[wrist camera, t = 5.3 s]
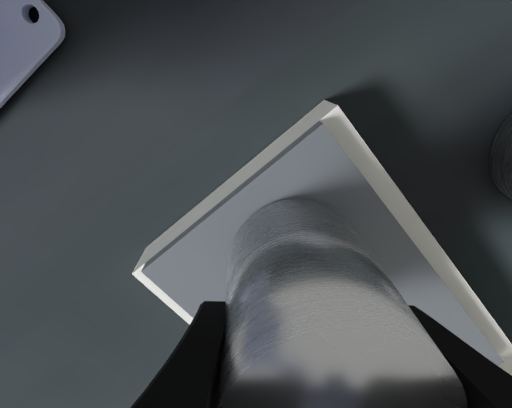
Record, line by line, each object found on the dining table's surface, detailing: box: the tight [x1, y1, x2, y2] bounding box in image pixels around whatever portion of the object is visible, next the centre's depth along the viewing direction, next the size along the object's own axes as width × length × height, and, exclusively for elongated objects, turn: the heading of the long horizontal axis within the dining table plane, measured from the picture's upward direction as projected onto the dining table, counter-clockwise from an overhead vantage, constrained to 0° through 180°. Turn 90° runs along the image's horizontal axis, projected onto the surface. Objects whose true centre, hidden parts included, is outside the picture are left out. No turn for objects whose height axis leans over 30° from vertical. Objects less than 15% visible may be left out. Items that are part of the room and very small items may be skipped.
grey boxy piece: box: [132, 100, 512, 375], centre depth 13 cm, size 14×9×5 cm, turn 40°
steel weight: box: [216, 199, 468, 408], centre depth 9 cm, size 4×4×6 cm
